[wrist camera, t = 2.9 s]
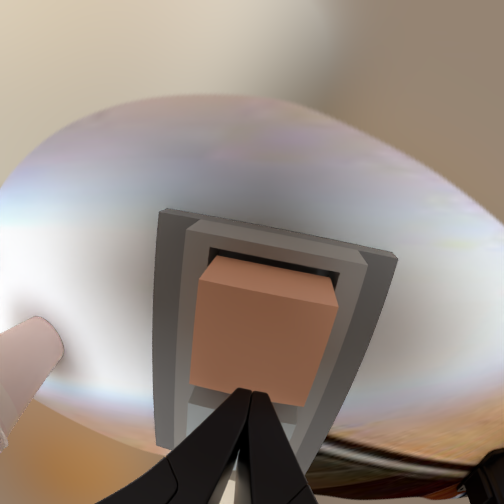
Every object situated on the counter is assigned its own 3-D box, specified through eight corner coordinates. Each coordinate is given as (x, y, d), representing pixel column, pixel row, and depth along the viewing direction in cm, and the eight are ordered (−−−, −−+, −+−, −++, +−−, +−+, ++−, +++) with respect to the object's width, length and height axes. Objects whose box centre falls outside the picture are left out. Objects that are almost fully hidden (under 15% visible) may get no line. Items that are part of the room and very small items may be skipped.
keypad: (391, 252, 14) (413, 274, 11) (304, 465, 19) (303, 497, 16) (167, 208, 15) (139, 220, 12) (160, 436, 20) (147, 464, 17)
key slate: (297, 385, 13) (296, 424, 11) (276, 441, 15) (273, 476, 12) (203, 367, 14) (187, 402, 11) (197, 425, 15) (185, 458, 13)
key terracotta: (330, 277, 12) (338, 306, 9) (303, 368, 13) (303, 407, 11) (216, 255, 12) (198, 279, 10) (205, 348, 13) (189, 383, 11)
